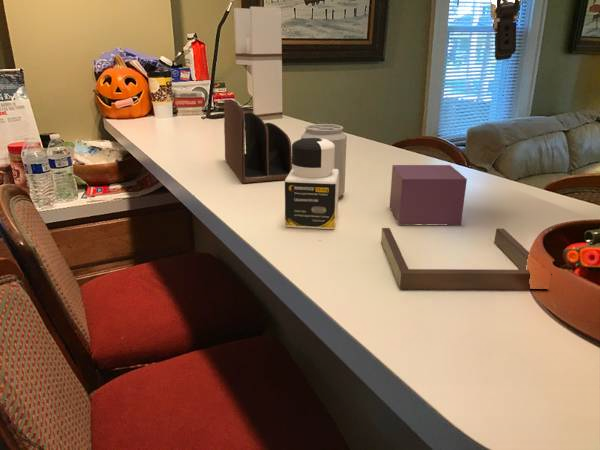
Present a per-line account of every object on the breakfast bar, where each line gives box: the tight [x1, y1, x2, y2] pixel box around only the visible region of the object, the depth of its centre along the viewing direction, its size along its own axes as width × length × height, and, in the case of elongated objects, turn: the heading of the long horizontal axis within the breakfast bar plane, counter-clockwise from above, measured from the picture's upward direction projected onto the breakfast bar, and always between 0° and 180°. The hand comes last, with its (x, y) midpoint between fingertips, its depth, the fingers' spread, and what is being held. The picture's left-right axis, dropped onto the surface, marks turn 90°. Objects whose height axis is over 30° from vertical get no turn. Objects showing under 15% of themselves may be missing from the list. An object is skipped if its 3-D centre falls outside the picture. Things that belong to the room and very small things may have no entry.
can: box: [300, 123, 348, 199], centre depth 79 cm, size 8×8×12 cm
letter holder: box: [223, 98, 292, 185], centre depth 95 cm, size 10×20×14 cm, turn 18°
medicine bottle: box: [284, 138, 339, 230], centre depth 68 cm, size 7×7×12 cm
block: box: [389, 164, 468, 226], centre depth 71 cm, size 9×8×7 cm
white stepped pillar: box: [233, 6, 283, 121], centre depth 159 cm, size 11×11×35 cm
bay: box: [380, 227, 531, 291], centre depth 56 cm, size 16×13×2 cm
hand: (504, 57), depth 63 cm, fingers open, 8 cm apart
